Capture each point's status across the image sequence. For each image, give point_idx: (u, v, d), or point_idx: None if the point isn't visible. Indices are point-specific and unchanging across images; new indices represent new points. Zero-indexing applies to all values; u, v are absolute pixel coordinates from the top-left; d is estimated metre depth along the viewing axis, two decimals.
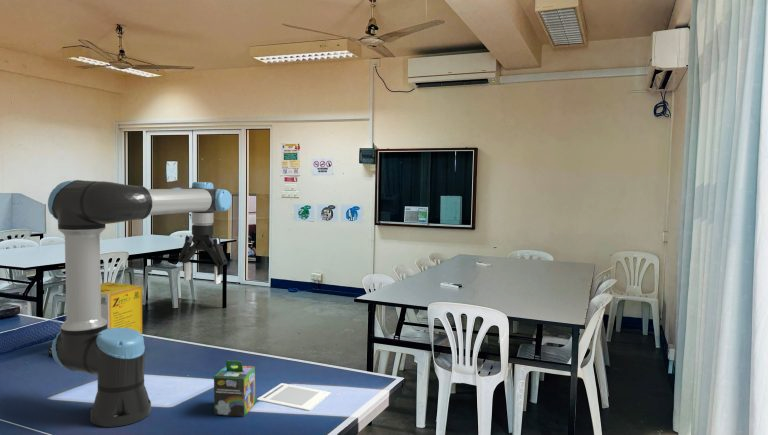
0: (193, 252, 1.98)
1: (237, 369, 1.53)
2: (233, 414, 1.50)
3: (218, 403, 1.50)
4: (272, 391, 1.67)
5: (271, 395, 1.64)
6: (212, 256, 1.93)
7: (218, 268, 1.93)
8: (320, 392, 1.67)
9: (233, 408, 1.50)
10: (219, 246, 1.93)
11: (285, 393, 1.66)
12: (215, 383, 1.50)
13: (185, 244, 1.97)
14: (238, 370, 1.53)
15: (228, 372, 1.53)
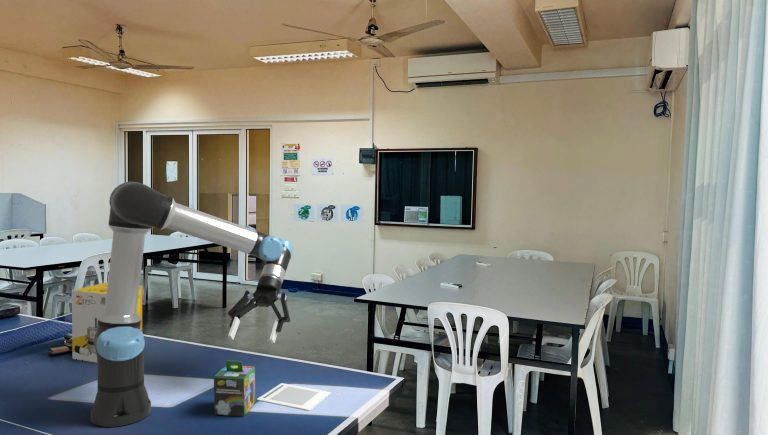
0: (249, 308, 1.71)
1: (237, 369, 1.53)
2: (233, 414, 1.50)
3: (218, 403, 1.50)
4: (272, 391, 1.67)
5: (271, 395, 1.64)
6: (275, 310, 1.67)
7: (279, 323, 1.65)
8: (320, 392, 1.67)
9: (233, 408, 1.50)
10: (285, 302, 1.70)
11: (285, 393, 1.66)
12: (215, 383, 1.50)
13: (243, 298, 1.72)
14: (238, 370, 1.53)
15: (228, 372, 1.53)
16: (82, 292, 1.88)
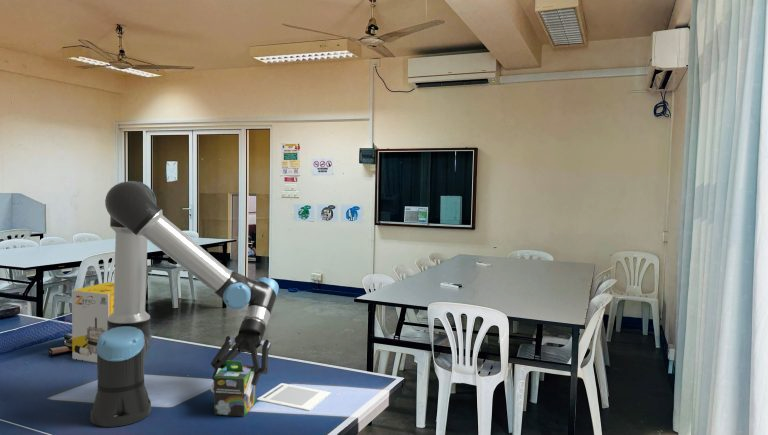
0: (232, 356, 1.59)
1: (237, 369, 1.53)
2: (233, 414, 1.50)
3: (218, 403, 1.50)
4: (272, 391, 1.67)
5: (271, 395, 1.64)
6: (254, 359, 1.56)
7: (255, 375, 1.53)
8: (320, 392, 1.67)
9: (233, 408, 1.50)
10: (267, 351, 1.59)
11: (285, 393, 1.66)
12: (215, 383, 1.50)
13: (225, 345, 1.60)
14: (238, 369, 1.53)
15: (228, 371, 1.52)
16: (82, 292, 1.88)
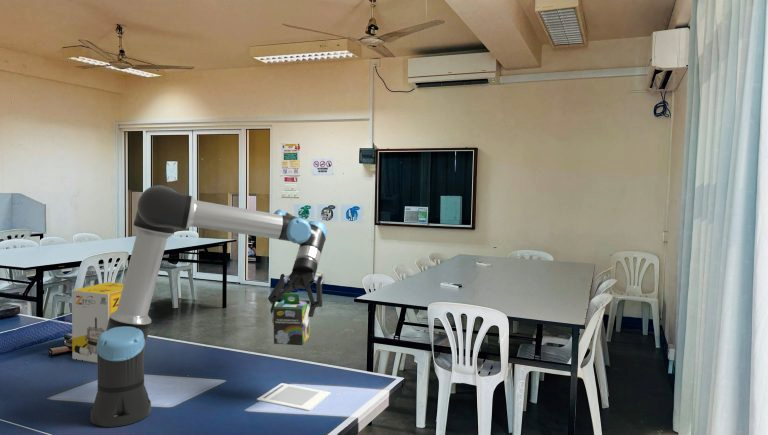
0: (288, 291, 1.67)
1: (294, 301, 1.61)
2: (292, 343, 1.58)
3: (277, 333, 1.58)
4: (272, 391, 1.67)
5: (271, 395, 1.64)
6: (309, 293, 1.64)
7: (311, 307, 1.61)
8: (320, 392, 1.67)
9: (292, 337, 1.58)
10: (321, 286, 1.67)
11: (285, 393, 1.66)
12: (274, 314, 1.58)
13: (280, 281, 1.68)
14: (295, 302, 1.61)
15: (286, 304, 1.60)
16: (82, 292, 1.88)
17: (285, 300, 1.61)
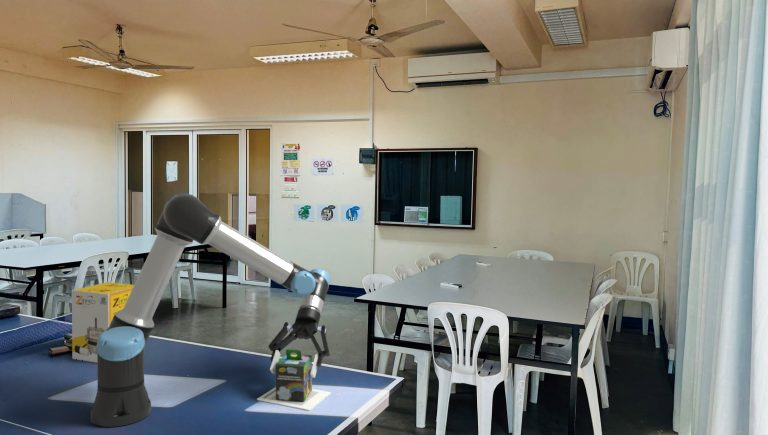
0: (289, 340, 1.69)
1: (296, 357, 1.63)
2: (293, 399, 1.60)
3: (279, 389, 1.60)
4: (272, 391, 1.67)
5: (271, 395, 1.64)
6: (315, 343, 1.66)
7: (319, 357, 1.63)
8: (320, 392, 1.67)
9: (294, 394, 1.60)
10: (325, 335, 1.69)
11: None
12: (277, 370, 1.60)
13: (282, 330, 1.71)
14: (298, 358, 1.63)
15: (288, 360, 1.63)
16: (82, 292, 1.88)
17: (287, 356, 1.63)
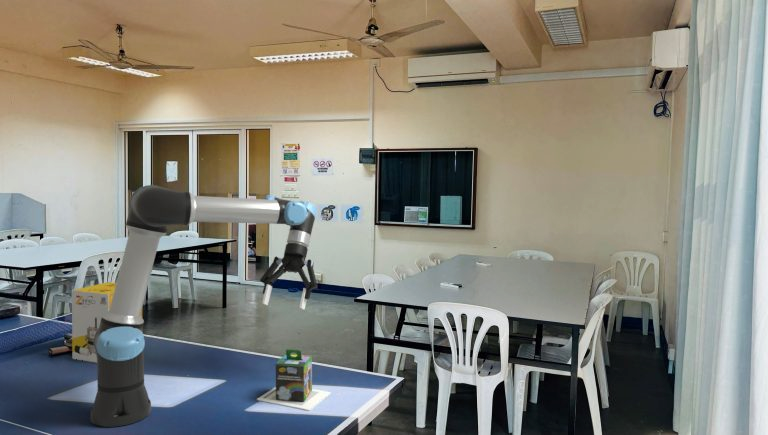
0: (279, 274, 1.81)
1: (296, 357, 1.63)
2: (293, 399, 1.60)
3: (279, 389, 1.60)
4: (272, 391, 1.67)
5: (271, 395, 1.64)
6: (303, 277, 1.76)
7: (307, 291, 1.75)
8: (320, 392, 1.67)
9: (294, 394, 1.60)
10: (312, 269, 1.78)
11: None
12: (277, 370, 1.60)
13: (272, 264, 1.81)
14: (298, 358, 1.63)
15: (288, 360, 1.63)
16: (82, 292, 1.88)
17: (287, 356, 1.63)
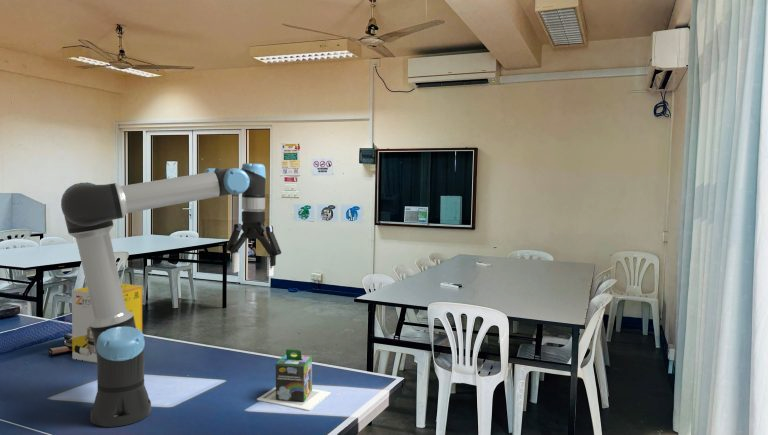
0: (242, 241, 1.79)
1: (296, 357, 1.63)
2: (293, 399, 1.60)
3: (279, 389, 1.60)
4: (272, 391, 1.67)
5: (271, 395, 1.64)
6: (264, 245, 1.74)
7: (271, 259, 1.74)
8: (320, 392, 1.67)
9: (294, 394, 1.60)
10: (272, 234, 1.75)
11: None
12: (277, 370, 1.60)
13: (234, 232, 1.78)
14: (298, 358, 1.63)
15: (288, 360, 1.63)
16: (82, 292, 1.88)
17: (287, 356, 1.63)
